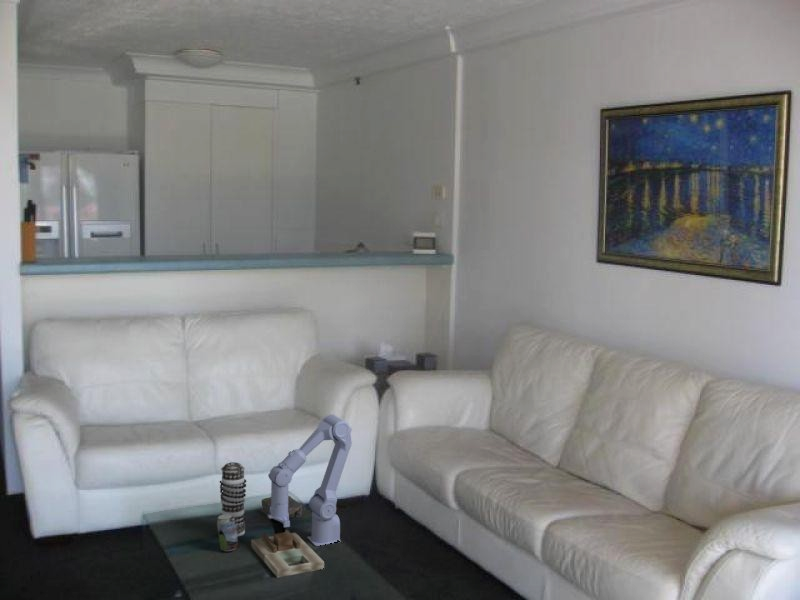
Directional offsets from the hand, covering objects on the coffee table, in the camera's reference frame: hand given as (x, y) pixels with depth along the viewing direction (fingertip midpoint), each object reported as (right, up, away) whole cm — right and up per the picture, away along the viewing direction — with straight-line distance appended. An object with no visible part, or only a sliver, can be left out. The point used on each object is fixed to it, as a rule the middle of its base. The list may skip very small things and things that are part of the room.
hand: (279, 539), depth 328 cm
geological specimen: (-4, +1, +32) cm, 32 cm away
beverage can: (-17, -3, -1) cm, 18 cm away
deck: (+3, -5, -6) cm, 8 cm away
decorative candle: (-18, -1, +13) cm, 23 cm away
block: (+2, -2, -3) cm, 4 cm away
